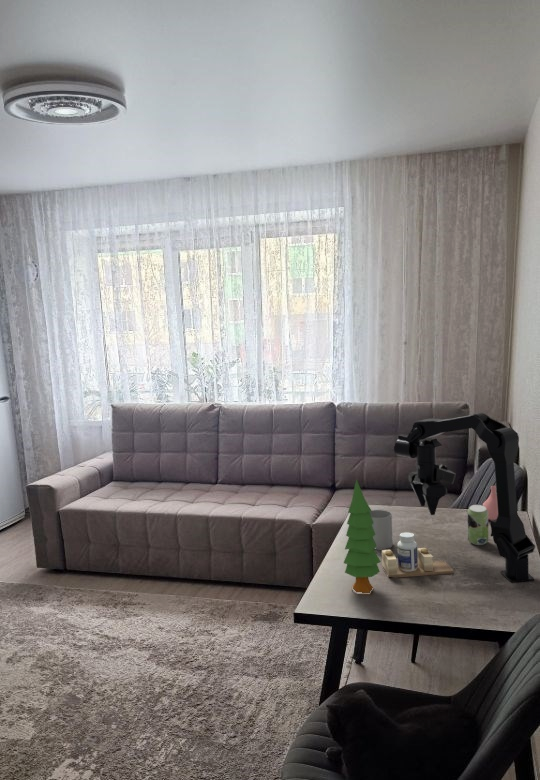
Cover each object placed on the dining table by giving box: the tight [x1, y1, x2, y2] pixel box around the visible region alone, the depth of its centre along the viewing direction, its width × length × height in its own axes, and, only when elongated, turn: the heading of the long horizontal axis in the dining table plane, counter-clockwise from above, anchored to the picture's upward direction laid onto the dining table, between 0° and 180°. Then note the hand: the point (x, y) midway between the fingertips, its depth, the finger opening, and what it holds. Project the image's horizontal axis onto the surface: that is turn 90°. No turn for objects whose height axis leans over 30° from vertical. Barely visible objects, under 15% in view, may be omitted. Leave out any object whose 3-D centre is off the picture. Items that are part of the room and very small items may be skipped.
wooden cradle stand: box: [381, 549, 454, 578], centre depth 159 cm, size 7×18×6 cm, turn 93°
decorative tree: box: [343, 479, 382, 593], centre depth 148 cm, size 10×9×30 cm
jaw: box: [417, 547, 434, 571], centre depth 159 cm, size 7×2×5 cm, turn 3°
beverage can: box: [467, 504, 489, 546], centre depth 176 cm, size 6×7×12 cm
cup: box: [369, 509, 394, 550], centre depth 180 cm, size 8×8×10 cm
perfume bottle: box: [482, 485, 498, 522], centre depth 197 cm, size 8×8×12 cm
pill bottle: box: [396, 532, 418, 572], centre depth 159 cm, size 5×5×10 cm
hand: (427, 510), depth 174 cm, fingers open, 9 cm apart
